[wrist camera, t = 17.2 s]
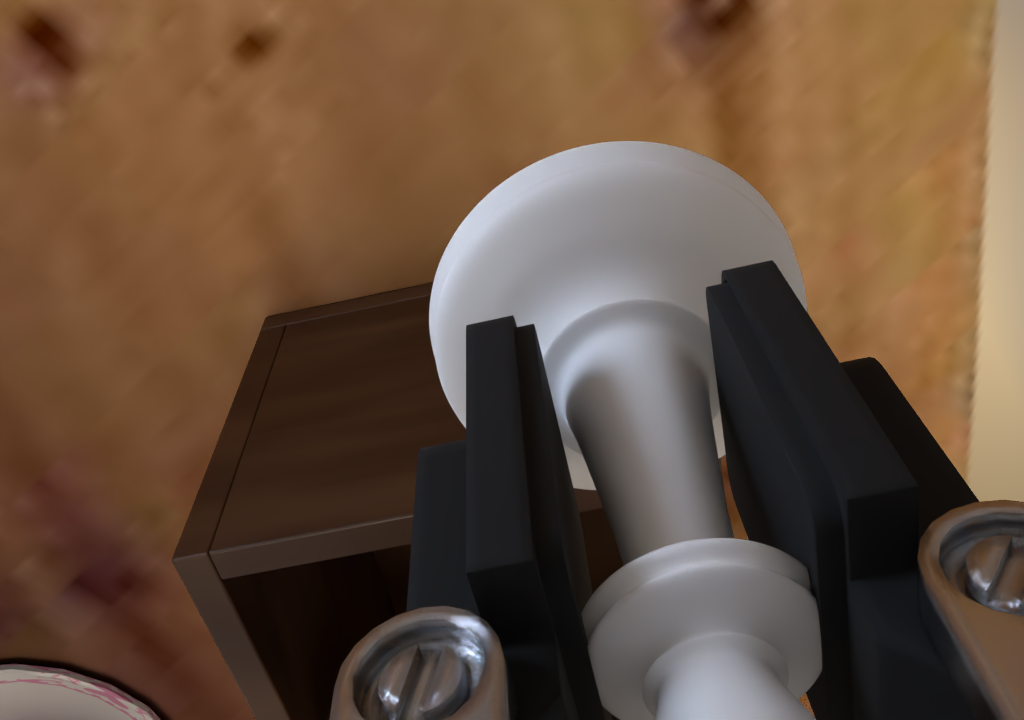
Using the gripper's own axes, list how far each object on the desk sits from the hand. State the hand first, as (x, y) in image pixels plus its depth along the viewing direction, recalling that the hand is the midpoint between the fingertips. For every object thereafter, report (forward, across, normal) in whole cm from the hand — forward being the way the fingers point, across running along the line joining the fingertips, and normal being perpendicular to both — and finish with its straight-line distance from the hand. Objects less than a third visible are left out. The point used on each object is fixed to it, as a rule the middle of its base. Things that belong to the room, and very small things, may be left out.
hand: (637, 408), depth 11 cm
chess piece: (+2, 0, 0) cm, 2 cm away
